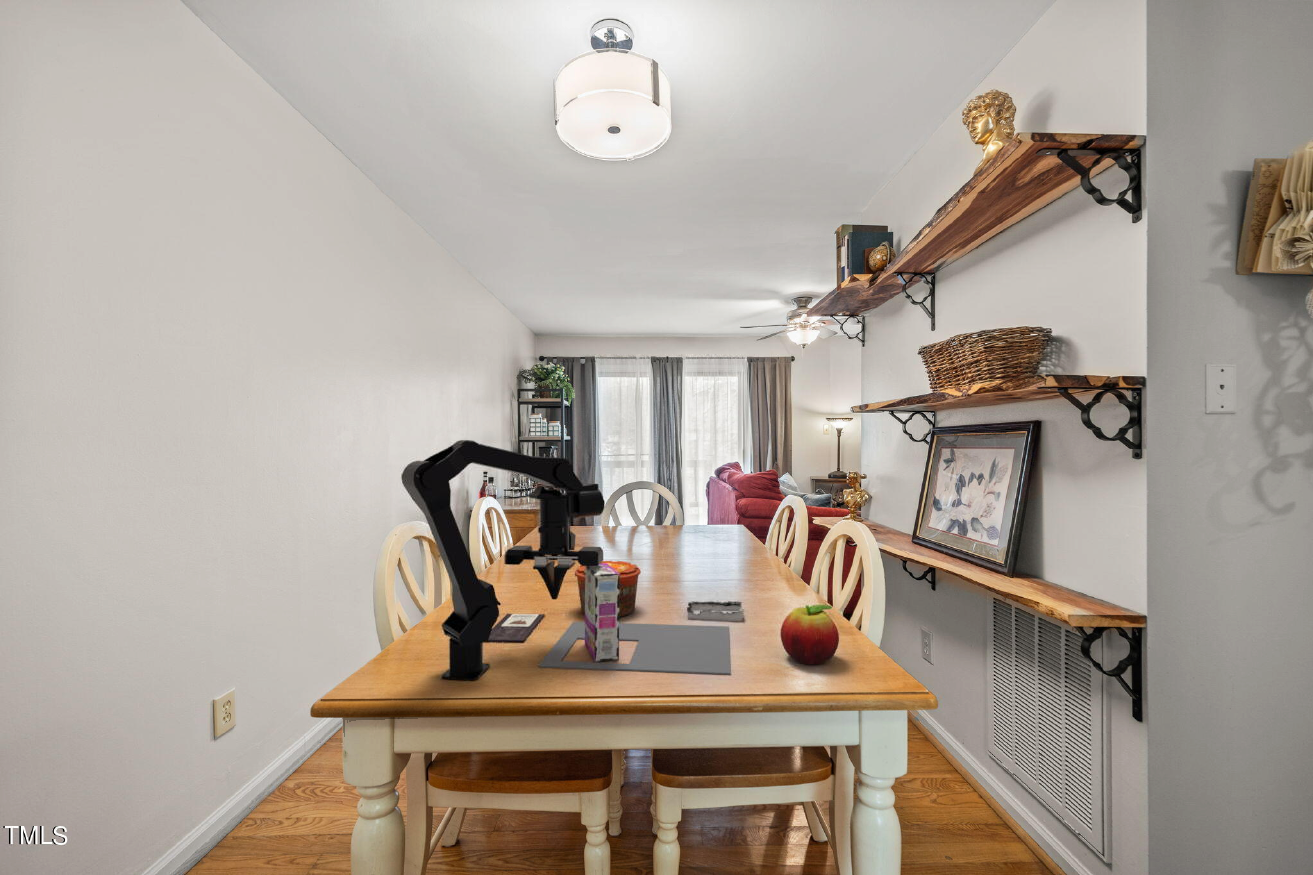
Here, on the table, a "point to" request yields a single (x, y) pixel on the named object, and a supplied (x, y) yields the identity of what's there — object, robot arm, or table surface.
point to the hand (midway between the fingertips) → (554, 598)
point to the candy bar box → (602, 612)
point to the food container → (626, 585)
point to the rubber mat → (656, 649)
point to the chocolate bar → (515, 628)
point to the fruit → (810, 635)
